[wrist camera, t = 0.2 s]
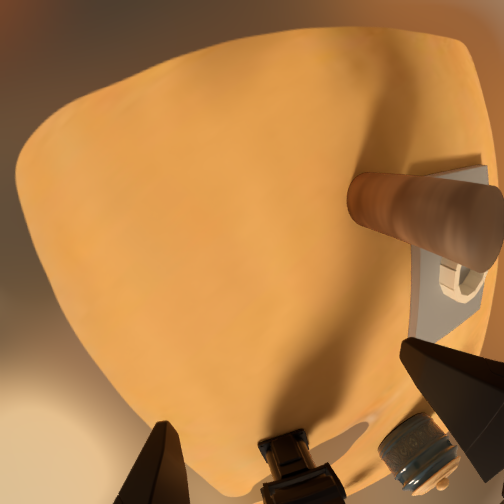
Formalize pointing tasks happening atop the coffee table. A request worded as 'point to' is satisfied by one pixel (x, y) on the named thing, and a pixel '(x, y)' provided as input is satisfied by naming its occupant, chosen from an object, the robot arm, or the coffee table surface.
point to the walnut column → (433, 215)
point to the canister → (419, 455)
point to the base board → (444, 280)
